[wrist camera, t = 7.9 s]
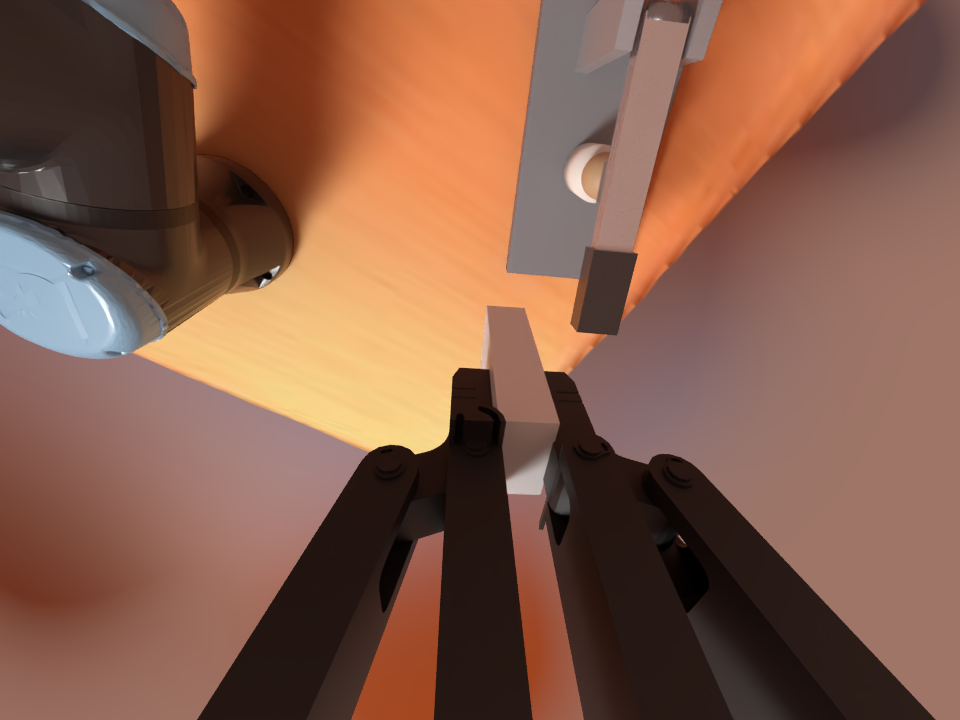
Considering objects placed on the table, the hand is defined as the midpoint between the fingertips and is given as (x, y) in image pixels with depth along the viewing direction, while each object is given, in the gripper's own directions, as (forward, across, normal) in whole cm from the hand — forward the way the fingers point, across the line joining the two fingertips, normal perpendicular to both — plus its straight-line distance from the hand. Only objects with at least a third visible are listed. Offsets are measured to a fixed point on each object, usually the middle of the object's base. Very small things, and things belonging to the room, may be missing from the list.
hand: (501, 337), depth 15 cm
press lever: (+20, +11, +3) cm, 23 cm away
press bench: (+33, +11, +5) cm, 35 cm away
